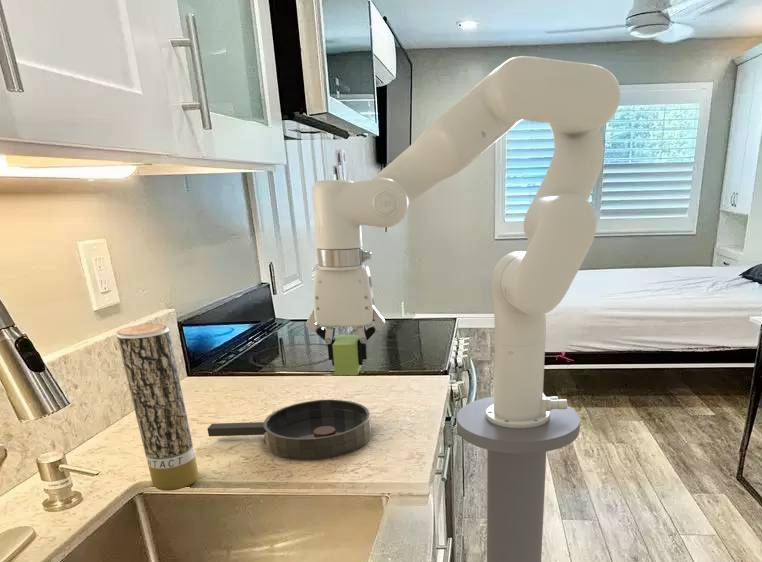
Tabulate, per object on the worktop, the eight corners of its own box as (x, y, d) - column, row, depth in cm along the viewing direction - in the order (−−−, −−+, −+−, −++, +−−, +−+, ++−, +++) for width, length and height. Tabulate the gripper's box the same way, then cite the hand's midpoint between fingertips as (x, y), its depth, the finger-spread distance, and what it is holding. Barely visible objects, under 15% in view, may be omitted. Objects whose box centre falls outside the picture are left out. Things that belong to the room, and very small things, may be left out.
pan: (375, 416, 116) (374, 398, 114) (365, 458, 98) (363, 437, 96) (281, 419, 115) (278, 401, 114) (253, 462, 98) (249, 441, 96)
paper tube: (166, 472, 95) (132, 324, 86) (206, 472, 94) (176, 323, 85) (144, 492, 88) (105, 335, 79) (187, 492, 88) (153, 334, 79)
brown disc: (337, 430, 108) (336, 425, 108) (333, 439, 105) (333, 434, 104) (316, 431, 108) (315, 426, 108) (312, 439, 105) (311, 434, 104)
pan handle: (269, 429, 107) (267, 421, 106) (265, 434, 105) (264, 426, 104) (213, 431, 107) (211, 423, 106) (208, 436, 105) (207, 428, 104)
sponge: (362, 363, 106) (360, 334, 104) (357, 375, 100) (355, 344, 98) (341, 363, 106) (338, 334, 104) (335, 375, 100) (332, 344, 98)
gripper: (391, 255, 100) (396, 356, 106) (295, 257, 99) (306, 358, 106) (388, 261, 93) (393, 368, 99) (285, 262, 92) (297, 370, 99)
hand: (348, 362), depth 103 cm, fingers closed on sponge, 4 cm apart
